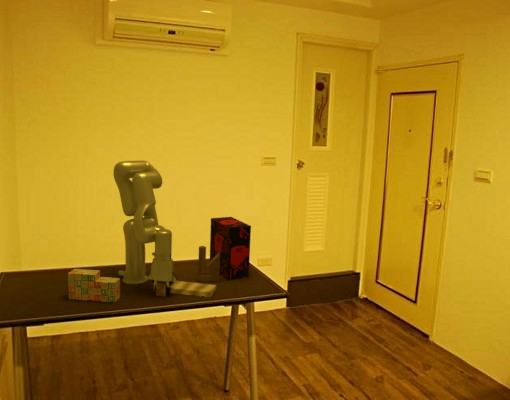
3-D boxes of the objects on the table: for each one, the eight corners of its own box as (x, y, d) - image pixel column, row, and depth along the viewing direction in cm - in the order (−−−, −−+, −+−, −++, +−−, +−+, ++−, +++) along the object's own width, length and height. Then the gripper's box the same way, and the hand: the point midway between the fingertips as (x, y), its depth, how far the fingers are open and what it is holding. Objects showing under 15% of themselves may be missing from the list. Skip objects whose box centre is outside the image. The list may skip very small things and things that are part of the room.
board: (153, 291, 211) (153, 286, 210) (161, 283, 220) (161, 279, 220) (210, 297, 206) (211, 292, 206) (216, 289, 216) (216, 285, 216)
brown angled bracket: (219, 281, 227) (220, 247, 224) (198, 282, 225) (198, 247, 222) (218, 279, 231) (219, 245, 228) (197, 279, 228) (198, 245, 225)
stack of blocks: (120, 297, 202) (120, 271, 200) (114, 303, 196) (114, 276, 194) (75, 293, 204) (74, 268, 201) (68, 299, 197) (67, 272, 195)
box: (209, 267, 249) (210, 218, 244) (229, 264, 255) (231, 216, 250) (227, 280, 229) (229, 227, 224) (248, 277, 235) (250, 225, 230)
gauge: (156, 295, 206) (156, 283, 205) (167, 284, 220) (167, 273, 218) (165, 296, 205) (165, 284, 204) (175, 285, 219) (175, 274, 218)
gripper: (142, 256, 202) (142, 294, 205) (177, 260, 199) (176, 298, 202) (149, 251, 209) (148, 288, 212) (183, 255, 206) (182, 292, 210)
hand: (162, 293), depth 207 cm, fingers closed on gauge, 4 cm apart
